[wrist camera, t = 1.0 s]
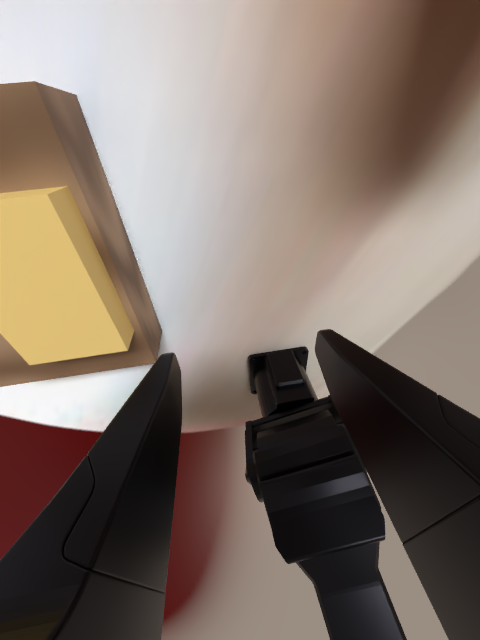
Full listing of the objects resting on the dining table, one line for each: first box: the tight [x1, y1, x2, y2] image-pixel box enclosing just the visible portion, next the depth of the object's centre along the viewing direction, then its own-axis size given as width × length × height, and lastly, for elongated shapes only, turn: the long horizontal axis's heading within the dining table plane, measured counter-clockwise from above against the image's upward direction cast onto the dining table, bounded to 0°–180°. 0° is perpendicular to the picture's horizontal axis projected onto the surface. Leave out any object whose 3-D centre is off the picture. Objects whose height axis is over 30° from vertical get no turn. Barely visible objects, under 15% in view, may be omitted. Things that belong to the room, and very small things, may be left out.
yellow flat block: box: [0, 186, 134, 365], centre depth 13 cm, size 9×6×2 cm, turn 4°
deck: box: [0, 81, 162, 387], centre depth 15 cm, size 16×12×4 cm
